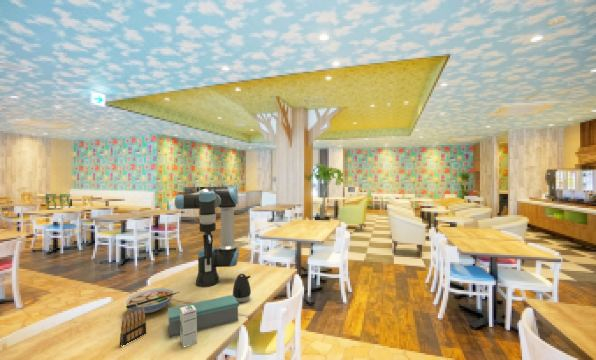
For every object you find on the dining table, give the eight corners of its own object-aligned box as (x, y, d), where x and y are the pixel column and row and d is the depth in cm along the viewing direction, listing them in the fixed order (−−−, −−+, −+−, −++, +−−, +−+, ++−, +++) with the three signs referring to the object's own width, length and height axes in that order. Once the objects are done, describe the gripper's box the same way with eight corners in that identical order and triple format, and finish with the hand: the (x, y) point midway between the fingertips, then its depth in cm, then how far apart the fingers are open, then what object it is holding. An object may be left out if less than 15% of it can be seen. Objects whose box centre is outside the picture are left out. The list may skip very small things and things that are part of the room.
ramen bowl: (168, 296, 159) (168, 282, 159) (183, 309, 143) (183, 294, 143) (118, 311, 142) (118, 295, 142) (129, 327, 125) (129, 310, 125)
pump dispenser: (247, 305, 147) (246, 277, 147) (229, 303, 149) (229, 276, 149) (253, 297, 157) (253, 271, 157) (237, 296, 159) (237, 270, 159)
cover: (167, 310, 127) (167, 306, 127) (232, 296, 142) (232, 293, 142) (168, 322, 116) (168, 318, 116) (239, 306, 130) (239, 302, 130)
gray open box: (169, 324, 127) (168, 310, 127) (231, 310, 141) (231, 297, 141) (170, 337, 117) (169, 321, 117) (237, 320, 131) (237, 306, 131)
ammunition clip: (143, 332, 121) (143, 306, 121) (146, 333, 120) (146, 306, 120) (119, 346, 111) (119, 317, 111) (122, 347, 110) (122, 318, 110)
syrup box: (197, 343, 113) (197, 308, 113) (182, 348, 109) (182, 312, 109) (193, 336, 117) (193, 303, 117) (179, 341, 114) (179, 307, 114)
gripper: (197, 221, 135) (198, 268, 135) (201, 225, 123) (202, 276, 123) (213, 220, 138) (213, 265, 138) (218, 224, 127) (218, 273, 127)
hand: (208, 270), depth 131 cm, fingers closed
